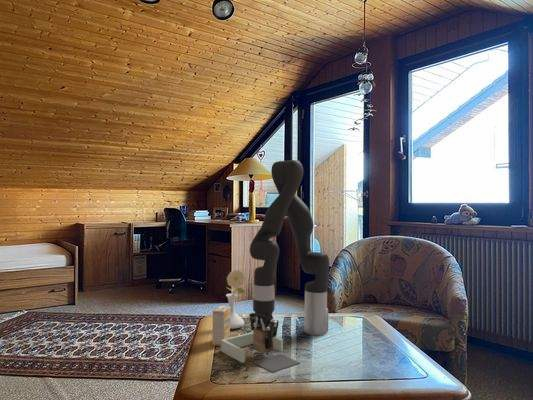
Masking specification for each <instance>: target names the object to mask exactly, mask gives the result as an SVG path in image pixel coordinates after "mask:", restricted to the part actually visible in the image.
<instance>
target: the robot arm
mask: <svg viewBox="0 0 533 400" xmlns="http://www.w3.org/2000/svg"><path fill="white" fill-rule="evenodd" d="M303 177H304V167H303V164H302V163H301V162H300V160H296V159H292V160H279V161H278V160H277V161H275V162H274V163H273V164H272V166H271V178H272V181H273V184H274V186H275V188H276V191H277V192H278V196H277V197H276V198H275V199H274V200H273V201H272V202H271V204H270V205H269V207H267V210H266V212H265V215H264V218H263V221H262V225H261V227H260V228H259V230H258V231H257V233H256V234H255V236H254V237H253V239H252V240H251V243H250V245H249V253H250V256H251V258H252V259H254V260H257V261H263V262H264V263H263V265H262V266H258V267H256V268H255V269H254V272H253V274H254V275H253V290H252V291H253V292H252V311H253V312H251V313H249V320H250V321H249V322H250V329H251V332H252V331H253V329H258V328H263V331H264V332H265V337H266V338H265V348H266V349H270V348H271V347H272V338H273V337H277V334H278V329H279V323H280V322H279V320H278V319H277V320H275V319H274V316H273V313H274V312H275V303H276V302H275V298H276V297H275V294H276V292H275V290H276V289H275V272H276V268H277V264H278V260H279V257H280V247H279V245H278V243H277V242H276V241H275V240H270V239H272V238H275V237H279V235H280V234H281V230H282V228H283V224H284V221H285V217H286V216H287V220H288V223H289V226H290V229H291V232H292V235H293V239H294V242H295V245H296V248H297V254H298V257H299V263H300V266H301V269H302V271H303V272H304V273H306V274H309V275H315V279H314V280H313V281H308V282H306V283H305V284H304V330H303V331H304V333H305V334H307V335H311V336H323V335H326V334H327V332H329V308H328V285H329V276H330V275H329V274H330V259H329V256H328V254H327V253H325V252H318V251H317V252H316V251H312V250H311V247H310V239H311V236H312V233H313V230H314V221H313V218H312V213H311V211H310V209H309V207H308V206H307V204H306V203H304V200H303V201H302V199H301V198H300V197H299V196H298V195H297V194H296V193H297V191H298V189H299V186H300V184H301V182H302V180H303ZM266 327H267V328H268V329H266ZM268 331H269V334H268Z"/></svg>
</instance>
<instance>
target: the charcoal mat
mask: <svg viewBox="0 0 533 400" xmlns="http://www.w3.org/2000/svg"><path fill="white" fill-rule="evenodd" d="M300 363H301V362H299V361H297V360H296V359H292V358H290V357H289V356H286V355H284V354H282V353H278V354H275V355H271V356H268V357H265V358H261V359H258V360H255V361H253V364H255V365H257V366H259V367H260V368H262V369H264V370H267V371H269V372H270V373H272V374H273V373H275V372H278V371H282V370H284V369H287V368H291V367H294V366H297V365H299V364H300Z"/></svg>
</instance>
